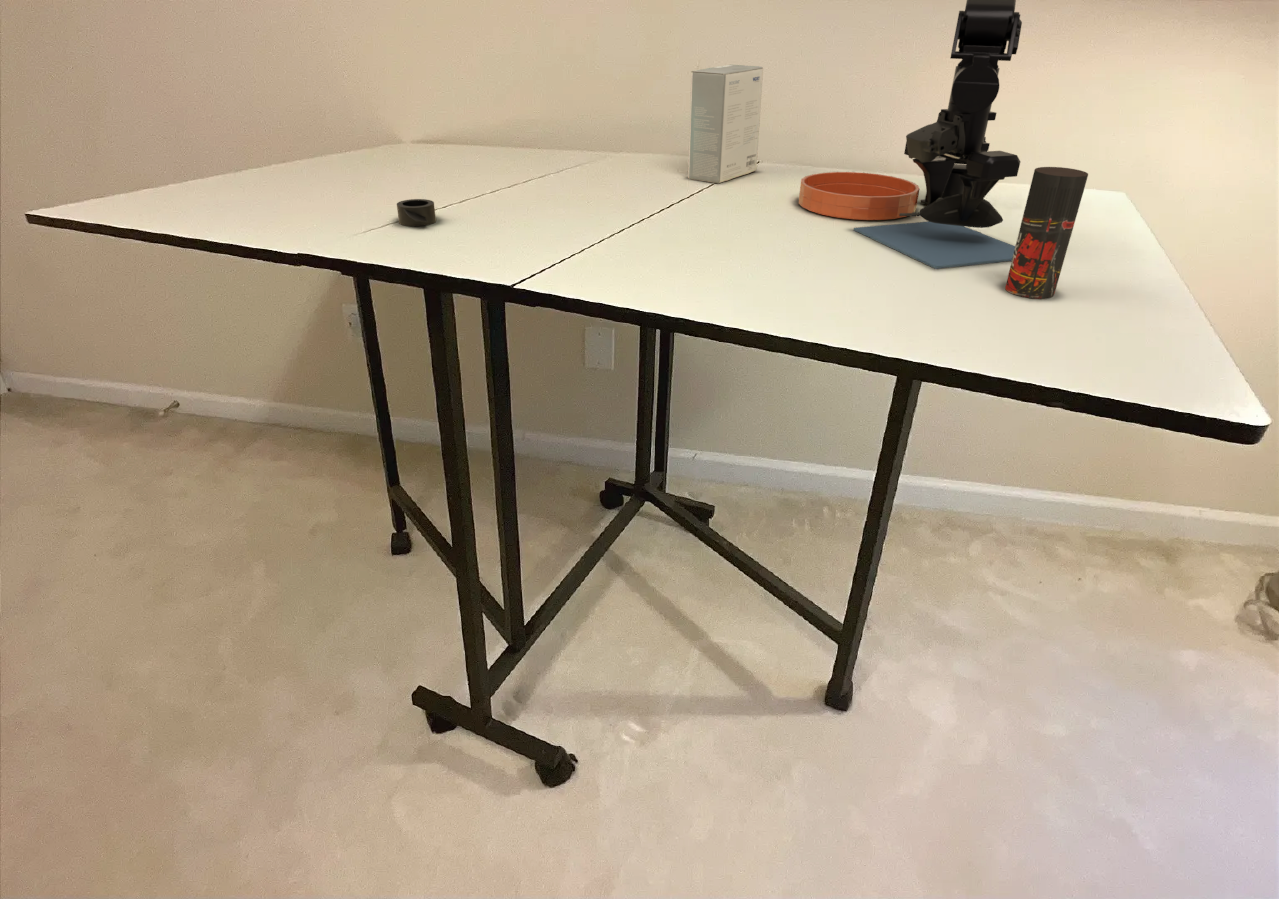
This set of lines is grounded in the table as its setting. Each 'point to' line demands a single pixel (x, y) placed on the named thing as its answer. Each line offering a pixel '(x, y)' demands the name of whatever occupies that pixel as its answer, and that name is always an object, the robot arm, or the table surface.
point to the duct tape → (416, 212)
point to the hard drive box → (724, 122)
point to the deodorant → (1045, 231)
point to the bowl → (858, 195)
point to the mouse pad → (940, 244)
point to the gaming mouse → (958, 213)
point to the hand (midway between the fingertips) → (947, 214)
